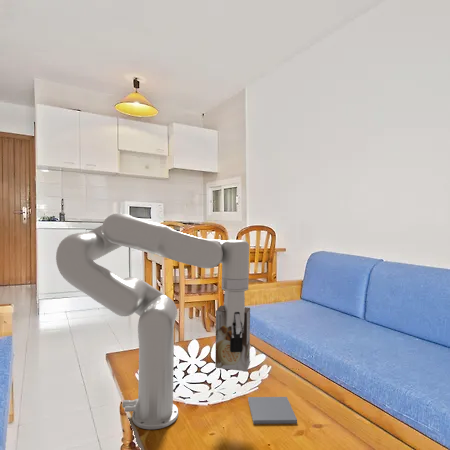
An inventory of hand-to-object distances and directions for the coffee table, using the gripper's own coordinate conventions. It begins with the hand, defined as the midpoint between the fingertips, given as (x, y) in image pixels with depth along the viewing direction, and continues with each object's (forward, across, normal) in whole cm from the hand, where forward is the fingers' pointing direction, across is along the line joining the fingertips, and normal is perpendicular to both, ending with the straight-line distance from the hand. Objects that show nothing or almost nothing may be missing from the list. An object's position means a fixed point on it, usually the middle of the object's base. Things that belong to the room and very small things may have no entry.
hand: (234, 345), depth 94 cm
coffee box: (+6, 0, 0) cm, 6 cm away
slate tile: (+20, -1, +11) cm, 23 cm away
